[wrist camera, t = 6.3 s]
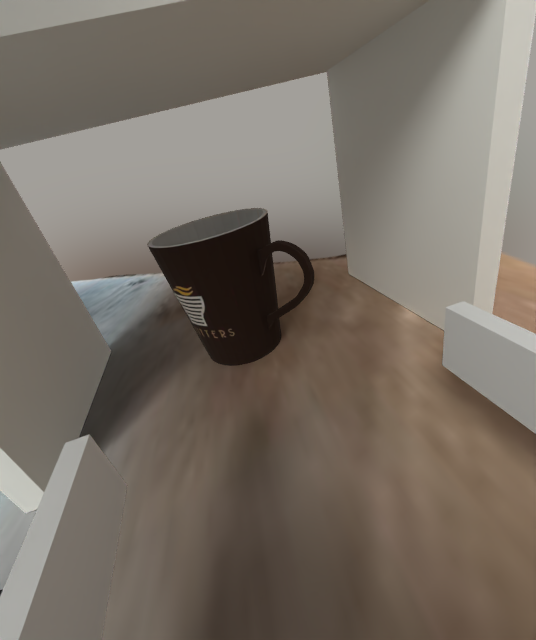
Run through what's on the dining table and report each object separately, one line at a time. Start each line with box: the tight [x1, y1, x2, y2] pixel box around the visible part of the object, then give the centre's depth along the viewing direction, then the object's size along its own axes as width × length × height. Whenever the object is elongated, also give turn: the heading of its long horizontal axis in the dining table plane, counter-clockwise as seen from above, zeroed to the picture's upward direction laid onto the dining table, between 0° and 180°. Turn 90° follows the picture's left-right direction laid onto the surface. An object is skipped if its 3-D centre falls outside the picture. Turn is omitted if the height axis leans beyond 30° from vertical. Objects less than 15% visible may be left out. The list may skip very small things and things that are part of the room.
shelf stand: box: [0, 0, 536, 514], centre depth 20 cm, size 17×30×20 cm, turn 105°
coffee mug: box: [147, 208, 314, 366], centre depth 23 cm, size 12×9×10 cm
